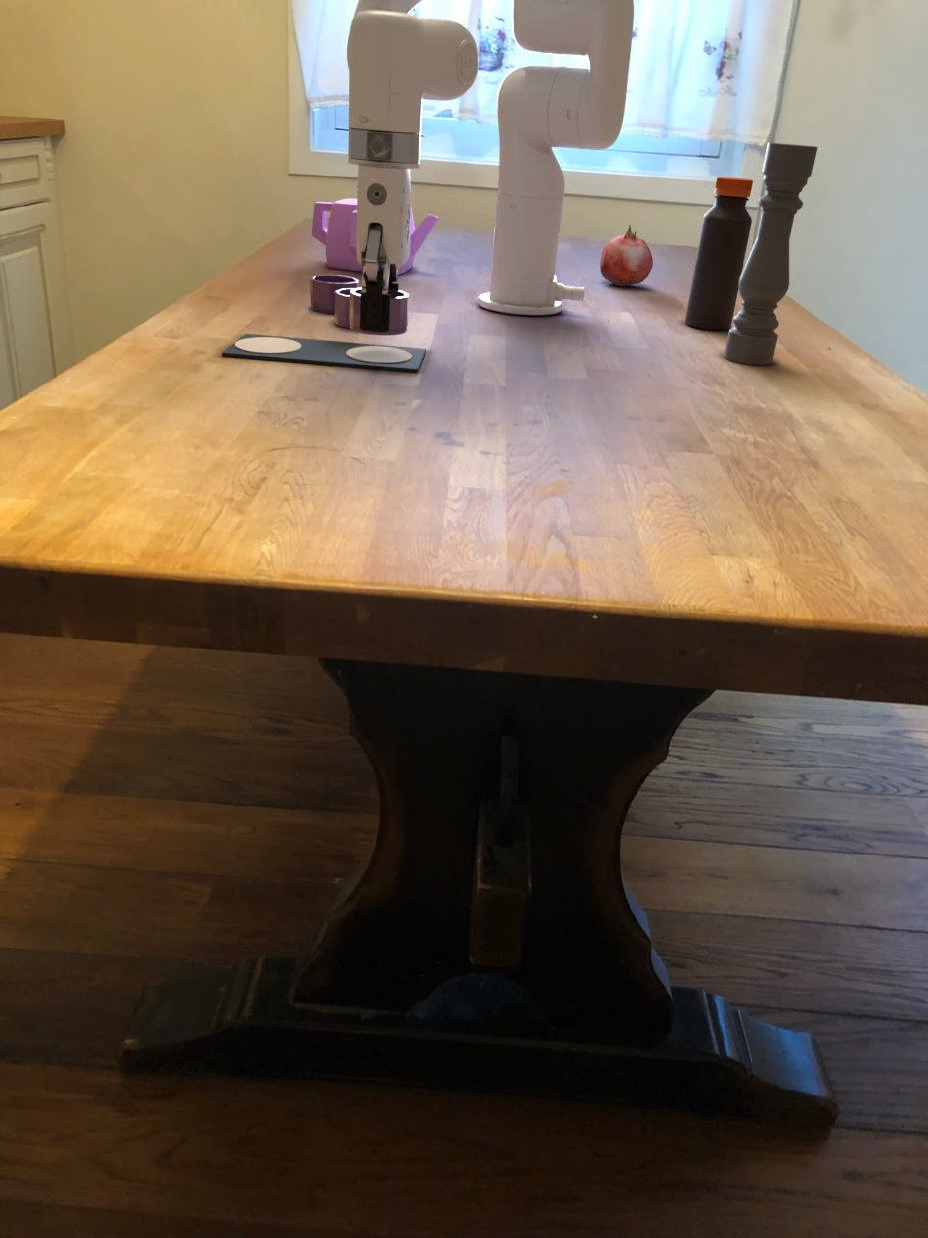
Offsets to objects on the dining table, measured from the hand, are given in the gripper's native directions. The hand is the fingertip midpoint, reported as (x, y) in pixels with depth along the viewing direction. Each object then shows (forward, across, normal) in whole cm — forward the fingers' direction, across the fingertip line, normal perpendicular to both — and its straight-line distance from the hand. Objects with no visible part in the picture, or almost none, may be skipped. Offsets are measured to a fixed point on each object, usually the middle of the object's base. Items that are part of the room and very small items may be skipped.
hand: (379, 322), depth 108 cm
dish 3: (+1, 0, 0) cm, 1 cm away
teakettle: (+4, +65, +10) cm, 66 cm away
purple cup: (+4, +26, +10) cm, 28 cm away
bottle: (+4, +36, -44) cm, 57 cm away
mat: (+4, 0, +6) cm, 7 cm away
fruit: (+4, +68, -34) cm, 76 cm away
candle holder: (+4, +16, -46) cm, 49 cm away
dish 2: (+4, +18, +5) cm, 19 cm away
